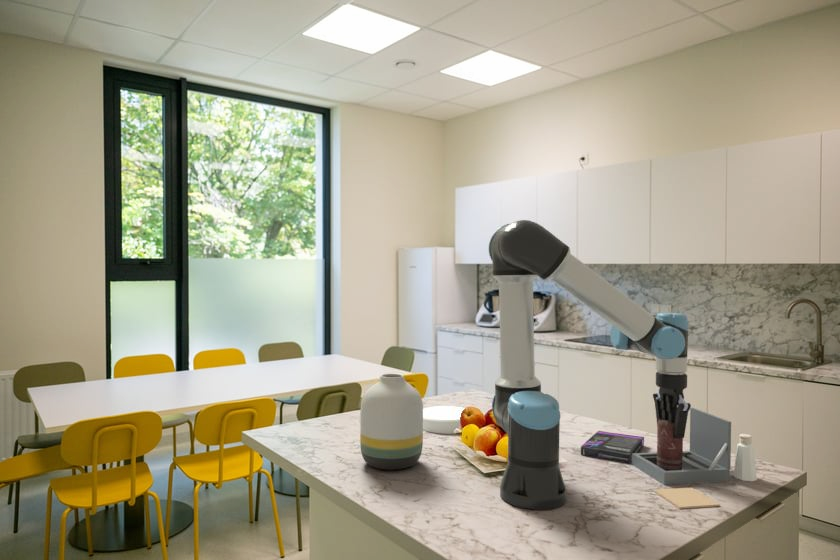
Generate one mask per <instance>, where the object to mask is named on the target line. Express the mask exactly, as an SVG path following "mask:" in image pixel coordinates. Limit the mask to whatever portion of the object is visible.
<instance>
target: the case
mask: <svg viewBox="0 0 840 560" xmlns="http://www.w3.org/2000/svg"><path fill="white" fill-rule="evenodd" d="M689 412H690V414H689V417H690V418H689V420H690V421H689V450H683V460H682V470H673V471H665V470H664V469H662V468H660V467H658V466H657V451H654V452H639V453H632V462H631V465H632V466H633V467H635V468H637V469H638V470H640V471H641V472H642V473H645V474H646V475H648V476H649V477H651V478H653V479H654V480H656V481H657V482H659V483H661V484H662V485H664V486H666V485H667V486H668V485H684V484H686V485H687V484H704V483H719V482H720V483H721V482H730V478H731V477H730V476H731V475H730V474H731V473H730V471H731V461H732V460H731V458H732V456H731V455H732V452H731V451H732V421H730V420H728V419H724V418H721V417H720V416H717V415H714V414H711V413H709V412H705V411H702V410H701V409H698V408H695V407H690V409H689Z"/></svg>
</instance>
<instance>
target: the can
mask: <svg viewBox="0 0 840 560" xmlns="http://www.w3.org/2000/svg"><path fill="white" fill-rule="evenodd" d="M664 420H665V419H664ZM664 420H662V418H659V421H658V426H657V425H656V426H657V427H656V428H657V432H656V433H657V434H656V436H657V438H656V439H657V441H656V452H657V466H658V467H660V468H662V469H664V470H665V471H673V470H683V469H682V460H683V451H684V449H683V446H684V438H673V431H674V424H675V423H669V420H666V421H664Z"/></svg>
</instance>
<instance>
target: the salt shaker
mask: <svg viewBox="0 0 840 560" xmlns="http://www.w3.org/2000/svg"><path fill="white" fill-rule="evenodd" d="M738 436H739V443H737V445H736V452H735V461H734V468H733V474H732V475H733V477H734V479H737V480H740V481H745V482H755V481H757V480H758V475H757V466H756V458H755V457H756V456H755V447H754V445H753V444H752V441H753V440H752V438H753V436H752V435H751V434H746V433H741V434H739V435H738Z"/></svg>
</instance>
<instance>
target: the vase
mask: <svg viewBox="0 0 840 560" xmlns="http://www.w3.org/2000/svg"><path fill="white" fill-rule="evenodd" d="M405 379H406V378H405V376H404V374H401V373H384V374H381V375H380V376H379V380H378V381H377V382H375V383H374V384H373V385H372V386H370V387H368V389H367V390H366V391H365V392H364V394H363V396H362V397H361V402H360V417H359V418H360V421H359V422H360V423H359V424H360V425H359V426H360V427H359V428H360V430H359V431H360V432H359V435H360V437H359V438H360V441H359V444H360V453H361V456H362V458H363V461H364V462H365V463H366V464H367V465H369V466H370V467H373V468H376V469H379V470H389V471H390V470H391V471H393V470H394V471H395V470H402V469H407V468H409V467H411V466H413V465H415V464H416V463H417V462H418V461H419V459H420V458H421V456H422V452H423V446H424V445H423V443H424V442H423V441H424V438H423V437H424V436H423V435H424V430H423V409H424V404H423V399H422V396H421V393H420V392H419V391H418V390H417V388H416V387H414V386H412V385H411V384H410V383H409V382H407V380H405Z"/></svg>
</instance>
